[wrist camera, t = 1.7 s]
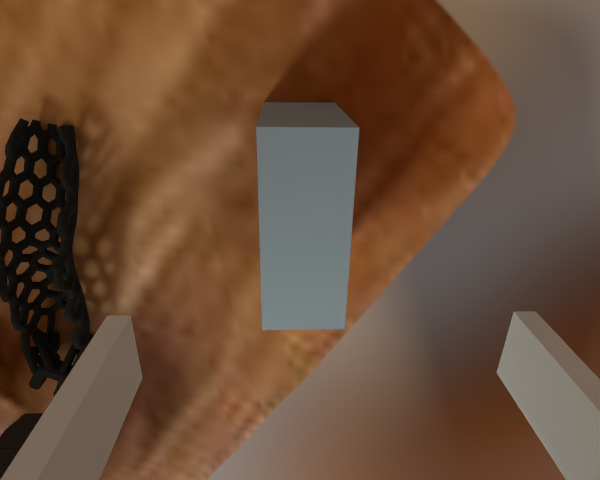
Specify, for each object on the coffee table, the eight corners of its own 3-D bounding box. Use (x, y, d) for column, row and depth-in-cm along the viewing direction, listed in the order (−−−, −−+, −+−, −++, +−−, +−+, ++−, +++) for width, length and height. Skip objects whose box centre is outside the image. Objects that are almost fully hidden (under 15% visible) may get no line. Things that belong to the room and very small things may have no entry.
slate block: (327, 254, 34) (344, 328, 25) (267, 254, 34) (262, 330, 25) (335, 102, 29) (359, 127, 20) (263, 101, 29) (256, 126, 20)
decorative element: (17, 112, 29) (-43, 127, 24) (93, 123, 29) (50, 140, 24) (49, 362, 38) (10, 414, 33) (105, 367, 39) (77, 419, 33)
